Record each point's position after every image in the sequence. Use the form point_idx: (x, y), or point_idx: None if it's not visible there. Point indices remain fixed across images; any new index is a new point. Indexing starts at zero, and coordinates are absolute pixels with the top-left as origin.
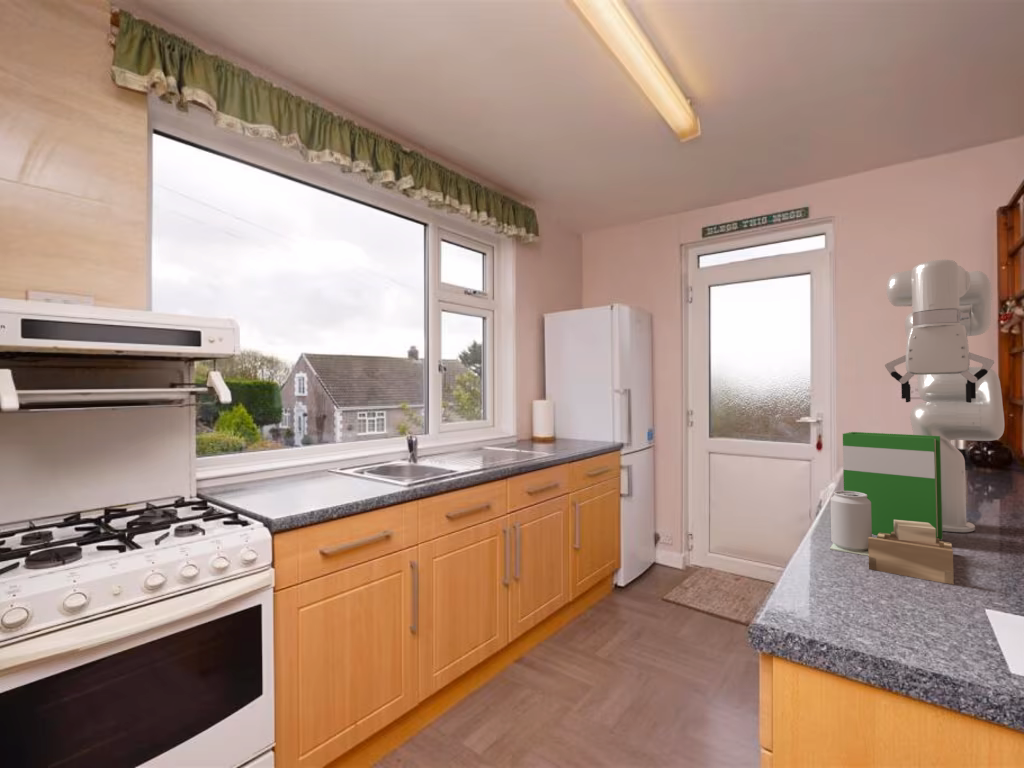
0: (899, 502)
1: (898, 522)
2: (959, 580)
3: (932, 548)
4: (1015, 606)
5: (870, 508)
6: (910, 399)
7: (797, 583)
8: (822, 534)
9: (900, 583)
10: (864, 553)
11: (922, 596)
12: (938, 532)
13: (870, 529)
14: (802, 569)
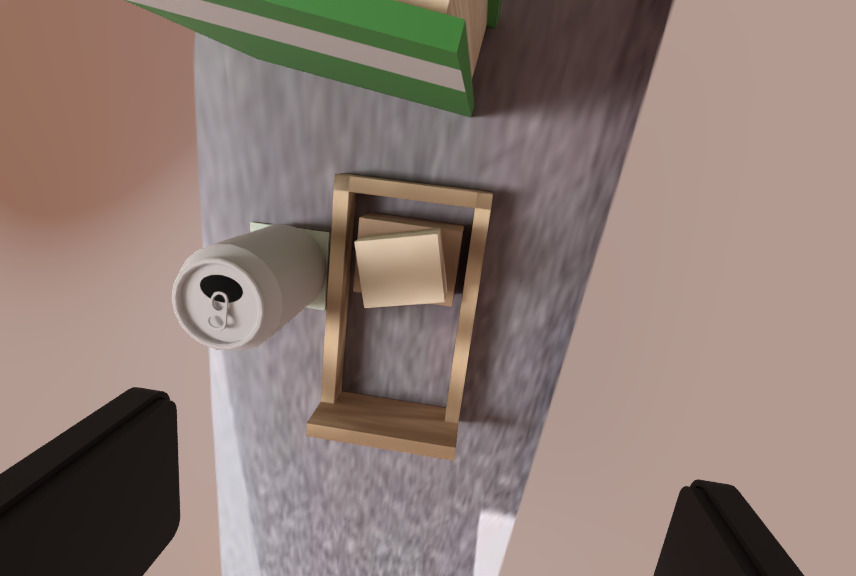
0: (367, 78)
1: (364, 273)
2: (471, 389)
3: (420, 454)
4: (526, 482)
5: (287, 309)
6: (161, 418)
7: (235, 525)
8: (216, 158)
9: (376, 454)
10: (316, 305)
11: (403, 500)
12: (488, 20)
13: (309, 296)
14: (228, 456)
